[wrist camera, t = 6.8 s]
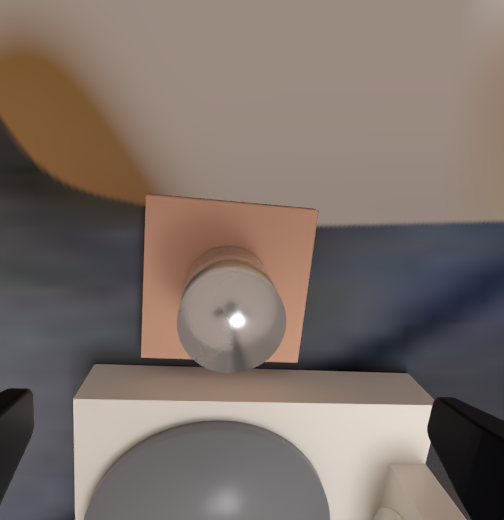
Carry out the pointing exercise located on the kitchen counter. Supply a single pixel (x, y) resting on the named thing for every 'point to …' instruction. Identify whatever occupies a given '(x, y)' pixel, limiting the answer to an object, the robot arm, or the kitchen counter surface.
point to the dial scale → (253, 446)
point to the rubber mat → (215, 235)
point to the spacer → (230, 311)
